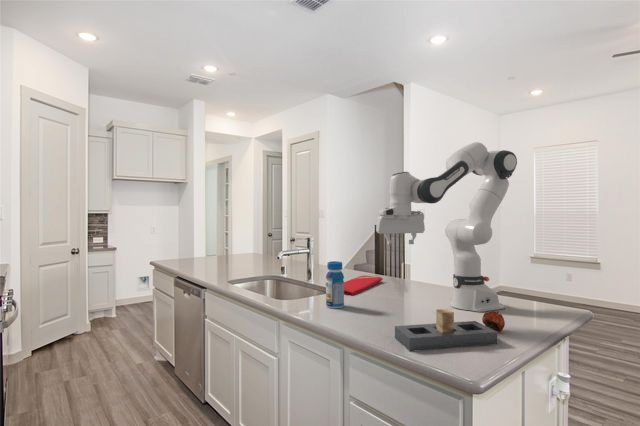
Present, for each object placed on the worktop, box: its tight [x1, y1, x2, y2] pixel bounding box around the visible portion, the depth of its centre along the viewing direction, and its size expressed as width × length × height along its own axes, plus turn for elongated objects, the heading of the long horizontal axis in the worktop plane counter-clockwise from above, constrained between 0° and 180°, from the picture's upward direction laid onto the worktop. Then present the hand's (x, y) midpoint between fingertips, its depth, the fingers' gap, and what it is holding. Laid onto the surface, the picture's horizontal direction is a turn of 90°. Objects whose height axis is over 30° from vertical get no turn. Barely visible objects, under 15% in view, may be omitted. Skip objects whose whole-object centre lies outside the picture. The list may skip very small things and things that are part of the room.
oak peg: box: [435, 308, 455, 332], centre depth 120 cm, size 4×4×10 cm
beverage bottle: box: [325, 261, 345, 309], centre depth 165 cm, size 8×8×20 cm
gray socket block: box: [394, 320, 499, 352], centre depth 120 cm, size 30×12×4 cm, turn 100°
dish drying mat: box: [344, 275, 383, 297], centre depth 207 cm, size 16×41×4 cm, turn 148°
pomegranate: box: [481, 310, 506, 333], centre depth 130 cm, size 7×7×10 cm
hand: (400, 244), depth 151 cm, fingers open, 8 cm apart
